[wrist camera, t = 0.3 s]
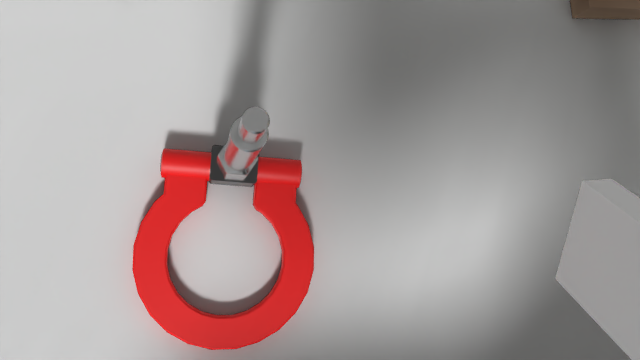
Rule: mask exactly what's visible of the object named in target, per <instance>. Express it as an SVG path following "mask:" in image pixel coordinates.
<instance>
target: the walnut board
mask: <svg viewBox="0 0 640 360" xmlns="http://www.w3.org/2000/svg"><path fill="white" fill-rule="evenodd" d="M570 3H571V11H572V18H583V19H640V0H570Z"/></svg>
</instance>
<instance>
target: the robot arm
mask: <svg viewBox="0 0 640 360" xmlns="http://www.w3.org/2000/svg"><path fill="white" fill-rule="evenodd" d="M555 279H556V280H557V281H558V282H559V283H560V285H561V286H562V287H563V288H564V289H565V290H566V291H567V292H568V293H569V294H570V295H571V296H572V297H573V298H574V299H575V300H576V301H577V302H578V304H579V305H580V306H581V307H582V308H583V309H584V310H585V311H586V312H587V313H588V314H589V315H590V316H591V317H592V318H593V319H594V320H595V322H596V323H597V324H598V325H599V326H600V327H601V328H602V329H603V330H604V331H605V332H606V333H607V334H608V335H609V336H610V337H611V338H612V340H613V341H614V342H615V343H616V344H617V345H618V346H619V347H620V348H621V349H622V350H623V351H624V352H625V353H626V354H627V355H628V356H629V358H630V359H631V360H640V198H639V197H638V196H637V195H635V194H634V193H632V192H631V191H629V190H628V189H626V188H625V187H623V186H622V185H620V184H619V183H617V182H616V181H614V180H613V179H612V178H611V179H597V180H582V183H581V186H580V190H579V194H578V197H577V201H576V204H575V208H574V212H573V215H572V219H571V223H570V226H569V230H568V233H567V237H566V241H565V244H564V248H563V252H562V255H561V259H560V262H559V266H558V270H557V273H556V277H555Z"/></svg>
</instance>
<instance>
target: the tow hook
mask: <svg viewBox="0 0 640 360" xmlns="http://www.w3.org/2000/svg"><path fill="white" fill-rule="evenodd" d="M269 123H270V119H269V115H268V113H267V112H266V111H265V110H264V109H262V108H260V107H251V108H248V109H247V110H246V111H245V112H244V113H243V115H242V116H241V117H239V118H238V119H236V121H235V122H234V123H233V125H232V127H231V130H230V134H229V137H228V141H227V143H226V144H225V146H219V145H214V146H212V153H211V152H200V151H189V150H177V149H166V148H164V150H163V153H162V156H161V165H160V171H161V176H162V177H163V178H165V184H164V194H163V195H161V196H160V197H159V198H158V199H157V200H156V201H155V202H154V203H153V205H152V206H151V208H150V210H149V211H148V213H147V214H146V216H145V217H144V219H143V220H142V222H141V225H140V228H139V231H138V234H137V237H136V240H135V243H134V250H133V274H134V278H135V282H136V287H137V291H138V294H139V296H140V298H141V300H142V302H143V303H144V305H145V307H146V309H147V311H148V312H149V314H150V316H151V317H152V318H153V319H154V320H155V321H156V322H157V323H158V324H159V325H160V326H161V327H162V328H163V329H164V330H165V331H166V332H168V333H170V334H171V335H173V336H175V337H177V338H178V339H180V340H182V341H184V342H186V343H187V344H190V345H195V346H199V347H203V348H207V349H211V350H216V349H237V348H241V347H244V346H247V345H251V344H254V343H257V342H260V341H261V340H263V339H265V338H266V337H268V336H270V335H271V334H273V333H275V332H276V331H278V330H279V329H280V328H281V327H282V326H283V325H284V324H285V323H286V322H287V321H288V320H289V319H290V318H291V317H292V316H293V315H294V314H295V313H296V311H297V310H298V308H299V306H300V304H301V303H302V301H303V299H304V297H305V296H306V294H307V292H308V288H309V285H310V281H311V277H312V274H313V270H314V246H313V242H312V238H311V233H310V229H309V225H308V223H307V221H306V220H305V218H304V216H303V214H302V212H301V210H300V209H299V207H298V205H297V204H296V188H298V187H299V185H300V182H301V175H302V164H301V160H292V159H280V158H269V157H259V153H260V151H261V150H262V148H263V147H264V146H265V144H266V142H267V140H268V126H269ZM207 181H209V182H210V183H211V184H221V185H234V186H247V187H252V186H253V185H254V196H253V206H254V207H255V209H256V210H257V211H259V212H260V213H262V214H263V215H264V216H265V217H266V218H267V219H268V221H269V222H270V223H271V224H272V226H273V227H274V229H275V231H276V233H277V235H278V237H279V241H280V245H281V249H282V265H281V269H280V272H279V276H278V279H277V281H276V283H275V285H274V286H273V288H272V290H271V291H270V293H269V294H268V295H267V296H266V297H265V298H264V299H263V300H262V301H261V302H260V303H258V304H257V305H255V306H253V307H252V308H250V309H248V310H247V311H243V312H240V313H236V314H233V315H215V314H211V313H207V312H203V311H200V310H199V309H197V308H195V307H193V306H192V305H190V304H188V303H187V302H186V301H185V300H184V298H183V297H182V296H181V295H180V294H179V293H178V292H177V290H176V288H175V287H174V285H173V283H172V281H171V279H170V274H169V270H168V266H167V259H168V248H169V244H170V241H171V238H172V235H173V233H174V232H175V230H176V229H177V227H178V226H179V224H180V222H181V221H182V220H183V219H185V218H186V217H187V216H188V215H189V214H190V213H191V212H192V211H194V210H196V209H198V208H200V207H202V206H203V204H204V203H205V201H206V190H207Z"/></svg>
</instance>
